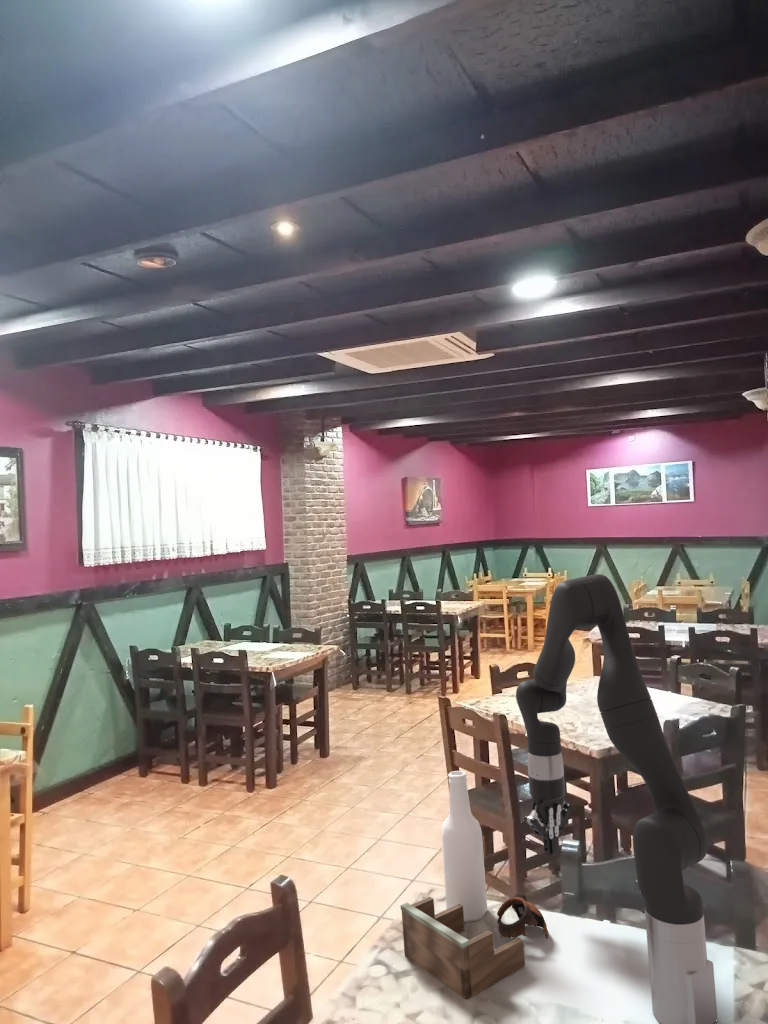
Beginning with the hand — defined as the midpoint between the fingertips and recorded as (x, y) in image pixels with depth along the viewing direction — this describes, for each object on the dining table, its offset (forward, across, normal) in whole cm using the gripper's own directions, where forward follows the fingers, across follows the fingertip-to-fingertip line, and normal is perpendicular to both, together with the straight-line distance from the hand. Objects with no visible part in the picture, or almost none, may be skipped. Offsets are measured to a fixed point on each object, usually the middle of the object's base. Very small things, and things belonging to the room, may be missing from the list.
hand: (551, 853), depth 158 cm
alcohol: (+13, -14, +13) cm, 23 cm away
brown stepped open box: (+12, -26, 0) cm, 29 cm away
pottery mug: (+13, -11, -1) cm, 17 cm away
